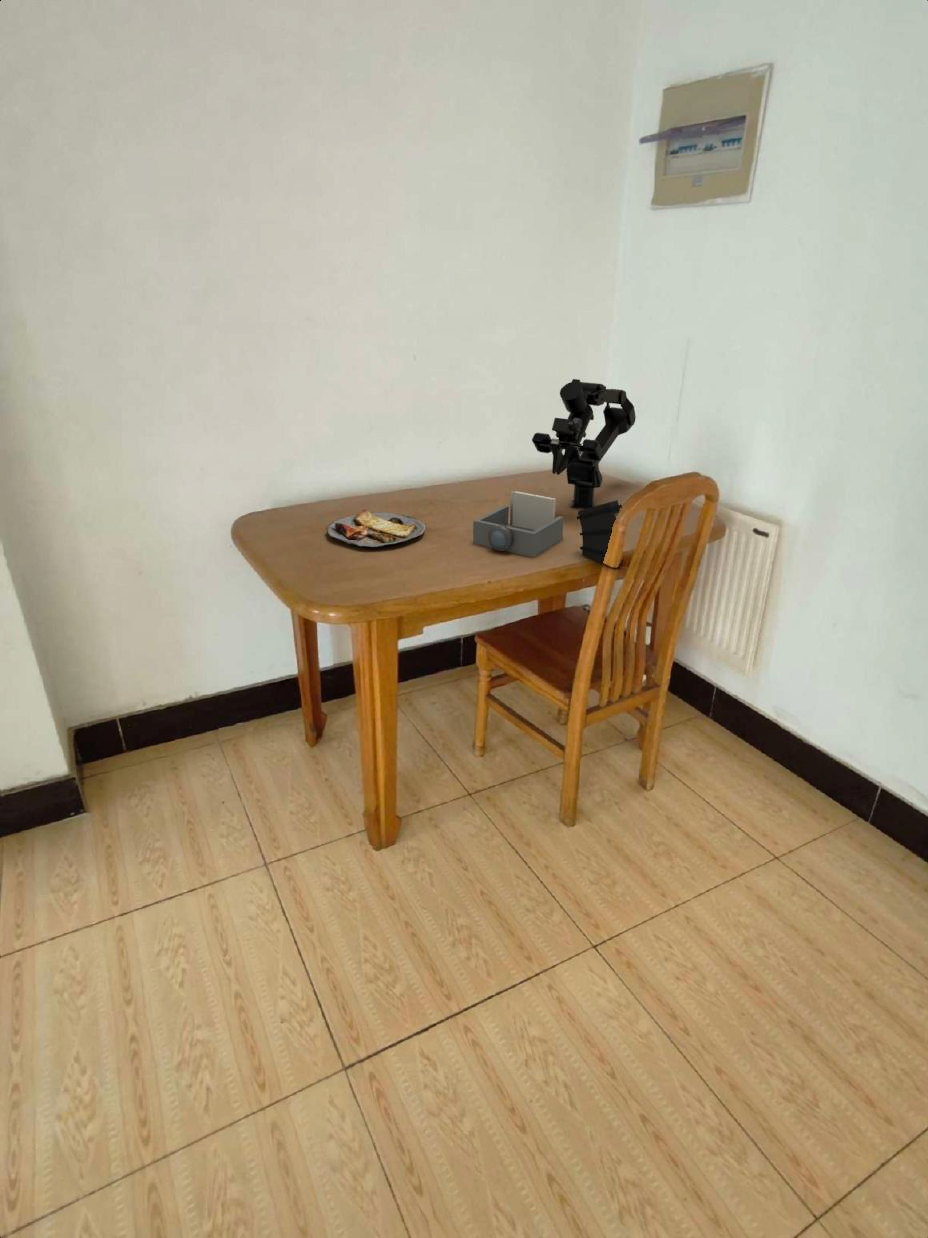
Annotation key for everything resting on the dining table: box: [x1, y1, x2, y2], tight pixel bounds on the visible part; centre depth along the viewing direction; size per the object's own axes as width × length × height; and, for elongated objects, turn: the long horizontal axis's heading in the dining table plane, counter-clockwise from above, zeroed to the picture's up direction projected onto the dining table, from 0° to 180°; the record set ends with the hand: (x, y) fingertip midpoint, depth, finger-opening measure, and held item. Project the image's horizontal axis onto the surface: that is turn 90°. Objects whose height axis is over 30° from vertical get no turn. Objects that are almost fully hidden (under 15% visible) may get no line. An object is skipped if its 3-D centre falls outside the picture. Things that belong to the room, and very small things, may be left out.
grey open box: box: [472, 505, 565, 559], centre depth 181 cm, size 18×17×7 cm
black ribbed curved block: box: [576, 499, 624, 568], centre depth 169 cm, size 4×13×15 cm, turn 36°
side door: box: [509, 490, 557, 530], centre depth 186 cm, size 13×2×9 cm, turn 56°
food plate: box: [325, 509, 426, 548], centre depth 187 cm, size 25×23×4 cm
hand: (555, 473), depth 190 cm, fingers closed
